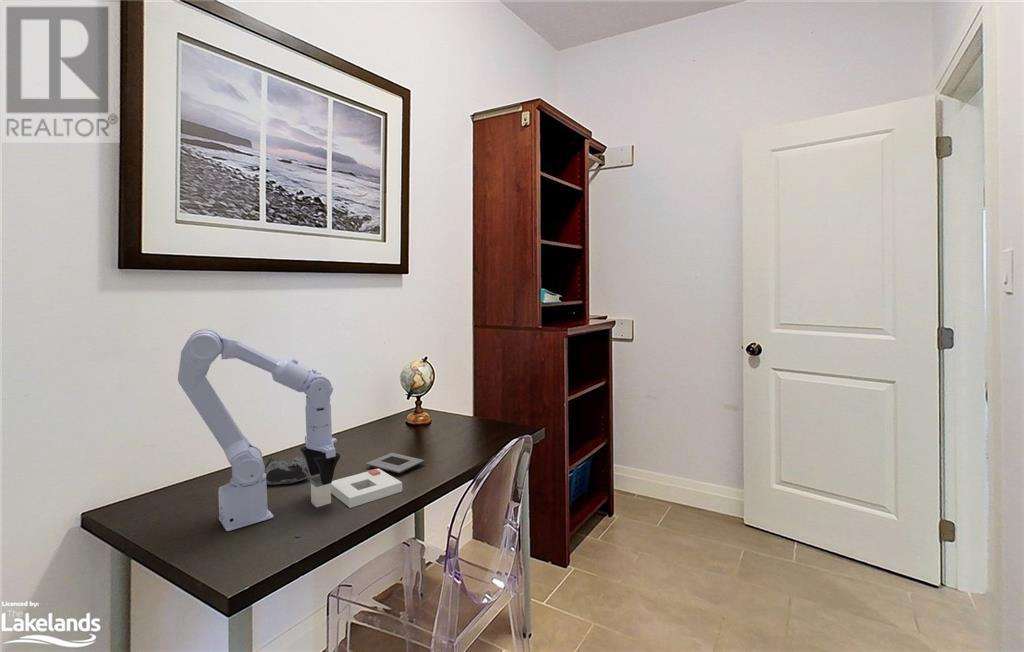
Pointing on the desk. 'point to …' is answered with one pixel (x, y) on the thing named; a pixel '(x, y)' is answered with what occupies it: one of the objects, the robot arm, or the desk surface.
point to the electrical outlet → (395, 463)
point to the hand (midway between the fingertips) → (320, 478)
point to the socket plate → (365, 487)
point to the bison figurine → (286, 471)
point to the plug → (320, 492)
